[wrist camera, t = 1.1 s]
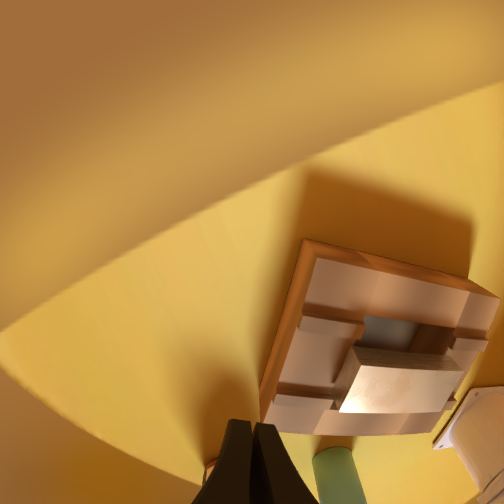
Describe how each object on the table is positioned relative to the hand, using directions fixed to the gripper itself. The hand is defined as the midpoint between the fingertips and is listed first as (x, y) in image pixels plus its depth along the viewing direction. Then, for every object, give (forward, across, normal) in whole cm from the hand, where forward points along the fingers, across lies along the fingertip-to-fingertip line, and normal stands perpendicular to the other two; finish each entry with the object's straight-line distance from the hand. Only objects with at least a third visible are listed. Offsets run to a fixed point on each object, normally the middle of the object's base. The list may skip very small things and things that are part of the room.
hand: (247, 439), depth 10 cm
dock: (+10, -8, 0) cm, 13 cm away
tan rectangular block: (+6, -9, 0) cm, 10 cm away
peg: (+10, -10, +13) cm, 19 cm away
